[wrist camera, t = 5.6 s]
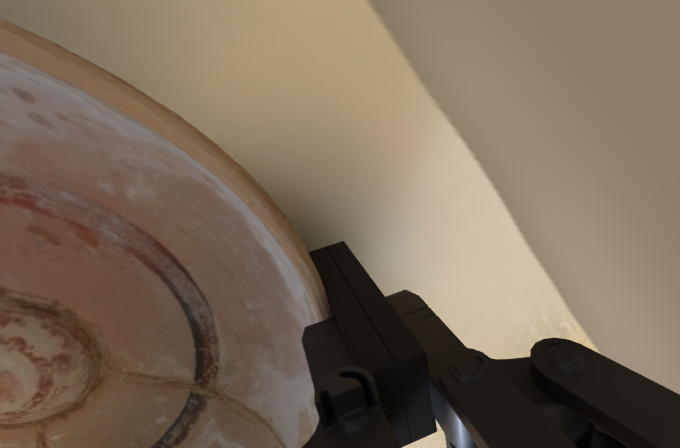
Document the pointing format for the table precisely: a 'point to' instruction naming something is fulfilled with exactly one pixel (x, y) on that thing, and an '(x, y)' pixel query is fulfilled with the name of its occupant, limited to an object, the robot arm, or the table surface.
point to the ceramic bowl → (139, 273)
